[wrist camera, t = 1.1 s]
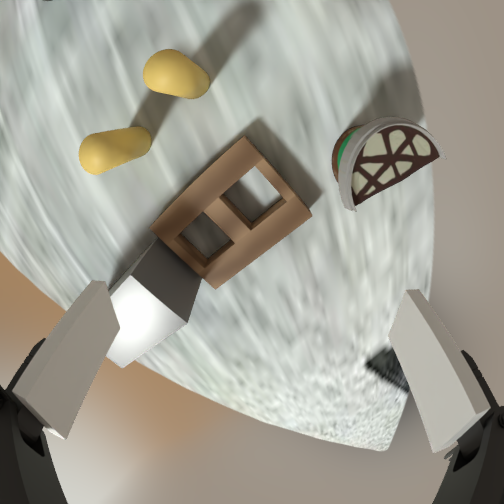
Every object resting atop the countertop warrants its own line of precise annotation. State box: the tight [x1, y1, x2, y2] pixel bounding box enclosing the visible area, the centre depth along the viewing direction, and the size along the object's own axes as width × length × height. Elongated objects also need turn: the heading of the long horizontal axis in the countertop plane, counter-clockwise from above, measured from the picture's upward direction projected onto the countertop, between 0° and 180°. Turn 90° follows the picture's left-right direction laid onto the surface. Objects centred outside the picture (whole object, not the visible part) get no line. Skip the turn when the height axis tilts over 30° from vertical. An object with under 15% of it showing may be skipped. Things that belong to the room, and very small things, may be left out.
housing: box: [106, 237, 202, 368], centre depth 35 cm, size 8×16×10 cm, turn 132°
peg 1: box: [79, 127, 151, 175], centre depth 25 cm, size 4×4×10 cm
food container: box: [332, 117, 446, 212], centre depth 25 cm, size 12×6×10 cm, turn 123°
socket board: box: [149, 135, 312, 289], centre depth 33 cm, size 12×16×2 cm
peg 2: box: [143, 49, 210, 99], centre depth 22 cm, size 4×4×10 cm
